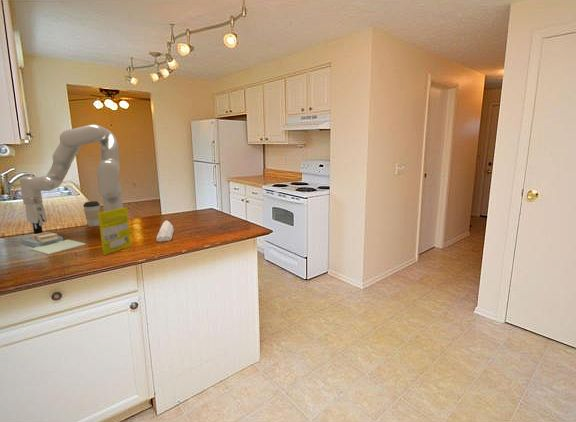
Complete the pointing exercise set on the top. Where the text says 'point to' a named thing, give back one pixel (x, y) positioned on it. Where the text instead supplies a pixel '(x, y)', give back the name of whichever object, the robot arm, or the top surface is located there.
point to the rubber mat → (58, 246)
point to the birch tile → (44, 236)
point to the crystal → (165, 232)
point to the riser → (36, 243)
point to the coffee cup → (92, 212)
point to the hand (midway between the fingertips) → (38, 235)
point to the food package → (114, 230)
